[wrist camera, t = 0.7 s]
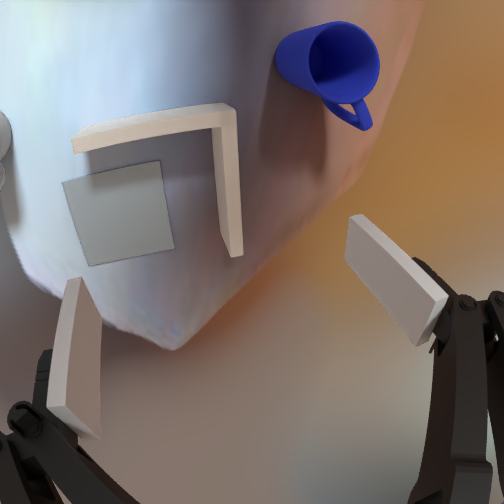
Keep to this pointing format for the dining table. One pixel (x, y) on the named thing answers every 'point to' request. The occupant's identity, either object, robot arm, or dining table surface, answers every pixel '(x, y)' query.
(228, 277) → the dining table surface
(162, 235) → the pad
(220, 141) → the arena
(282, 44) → the mug
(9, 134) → the cup
